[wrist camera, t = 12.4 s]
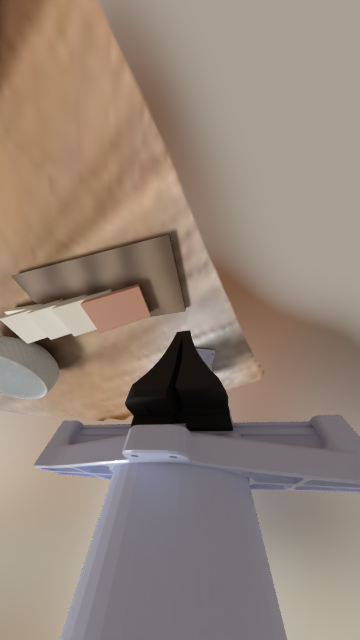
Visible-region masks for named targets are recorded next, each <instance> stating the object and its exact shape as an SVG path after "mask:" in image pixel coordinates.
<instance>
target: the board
mask: <svg viewBox="0 0 360 640" xmlns="http://www.w3.org/2000/svg"><path fill="white" fill-rule="evenodd" d="M12 277H13V279H14V280H15V281H16V282H17V283H18V284H19V285H20V286H21V288H22V289H23V290H24V291H25V292H26V293H27V294H28V295H29V296H30V298H31V299H32V300H33V301H34V302H35V303H36V304H47V303H50V302H54V301H57V300H61V299H63V300H64V301H65V300H68V299H71V298H75V297H78V296H82V295H85V294H87V295H88V296H89V295H93V294H96V293H100V292H103V291H106V290H110V289H112V291H113V292H114V291H117V290H120V289H124V288H127V287H130V286H134V285H137V284H139V286H140V289H141V291H142V294H143V296H144V299H145V302H146V304H147V307H148V309H149V312H150V317H152V316H158V315H165V314H171V313H177V312H184V311H185V309H186V308H185V304H184V299H183V294H182V290H181V285H180V280H179V276H178V271H177V266H176V262H175V257H174V252H173V248H172V243H171V238H170V235H165V236H162V237H158V238H154V239H150V240H146V241H142V242H139V243H135V244H131V245H127V246H123V247H119V248H116V249H112V250H108V251H104V252H100V253H97V254H93V255H89V256H85V257H81V258H77V259H74V260H70V261H66V262H62V263H58V264H54V265H51V266H47V267H43V268H39V269H35V270H31V271H28V272H24V273H20V274H16V275H12Z"/></svg>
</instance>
